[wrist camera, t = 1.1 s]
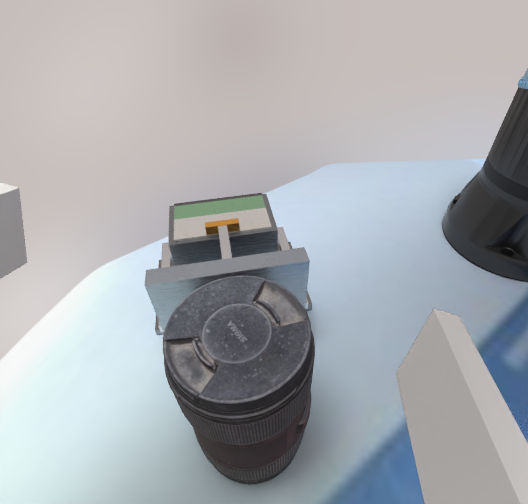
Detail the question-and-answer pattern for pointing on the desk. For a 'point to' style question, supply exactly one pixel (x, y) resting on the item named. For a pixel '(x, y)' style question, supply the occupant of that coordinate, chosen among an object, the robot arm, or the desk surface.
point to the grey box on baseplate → (208, 246)
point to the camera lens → (242, 373)
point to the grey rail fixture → (225, 271)
